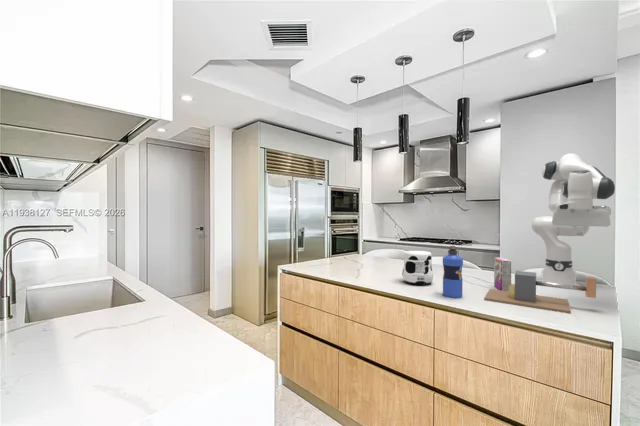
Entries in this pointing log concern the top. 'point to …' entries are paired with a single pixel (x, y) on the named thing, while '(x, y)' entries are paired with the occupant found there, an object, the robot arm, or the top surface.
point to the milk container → (417, 267)
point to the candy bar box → (502, 273)
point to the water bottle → (452, 274)
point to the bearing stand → (528, 295)
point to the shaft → (575, 286)
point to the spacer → (512, 291)
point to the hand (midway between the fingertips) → (579, 235)
